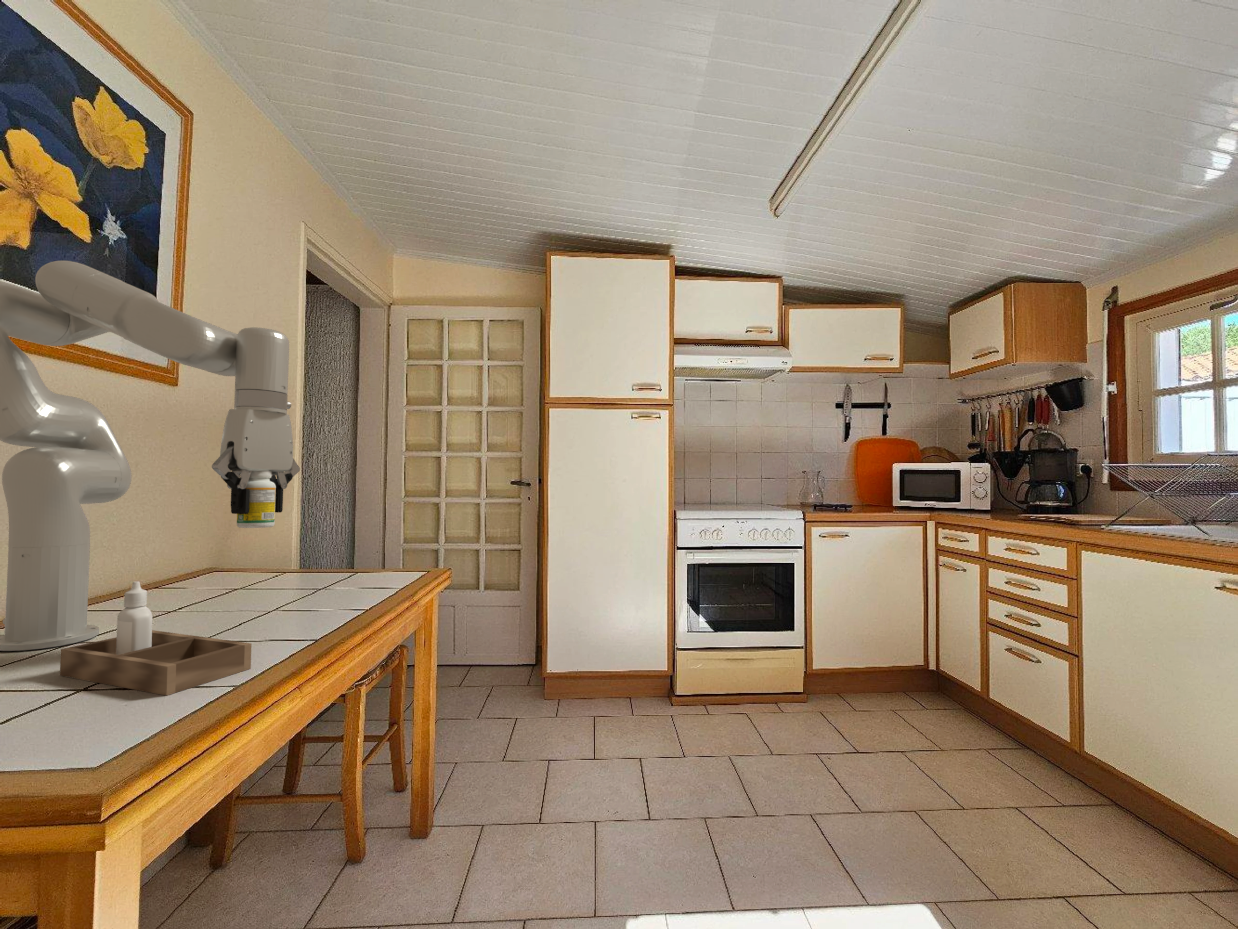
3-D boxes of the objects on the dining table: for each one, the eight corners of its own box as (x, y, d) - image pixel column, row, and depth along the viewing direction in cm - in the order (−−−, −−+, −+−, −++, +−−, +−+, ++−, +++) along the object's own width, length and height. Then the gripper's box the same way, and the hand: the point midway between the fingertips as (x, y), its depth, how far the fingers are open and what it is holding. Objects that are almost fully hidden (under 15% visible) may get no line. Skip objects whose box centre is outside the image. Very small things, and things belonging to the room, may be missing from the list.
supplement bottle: (273, 527, 94) (275, 469, 95) (234, 528, 92) (236, 468, 92) (275, 525, 99) (277, 469, 99) (238, 526, 96) (240, 469, 97)
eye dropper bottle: (106, 676, 77) (110, 586, 78) (118, 664, 82) (121, 580, 82) (148, 671, 79) (151, 583, 80) (157, 660, 84) (160, 577, 85)
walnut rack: (59, 675, 77) (60, 649, 77) (149, 653, 88) (150, 629, 88) (166, 695, 70) (167, 666, 70) (250, 668, 81) (251, 643, 81)
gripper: (289, 411, 105) (285, 510, 105) (192, 397, 89) (188, 514, 89) (320, 409, 103) (317, 511, 102) (227, 395, 87) (223, 516, 86)
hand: (257, 511), depth 95 cm, fingers closed on supplement bottle, 5 cm apart
